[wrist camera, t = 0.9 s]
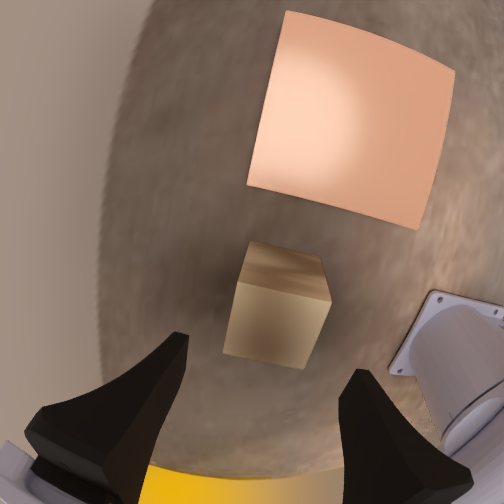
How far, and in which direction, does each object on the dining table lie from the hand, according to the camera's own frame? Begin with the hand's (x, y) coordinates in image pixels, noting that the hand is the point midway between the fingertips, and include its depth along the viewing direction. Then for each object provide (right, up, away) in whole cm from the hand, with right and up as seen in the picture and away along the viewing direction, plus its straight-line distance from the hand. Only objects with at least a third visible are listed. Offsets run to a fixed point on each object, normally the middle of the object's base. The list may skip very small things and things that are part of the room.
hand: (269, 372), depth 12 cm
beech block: (+1, +3, +8) cm, 9 cm away
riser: (+5, +13, +4) cm, 14 cm away
